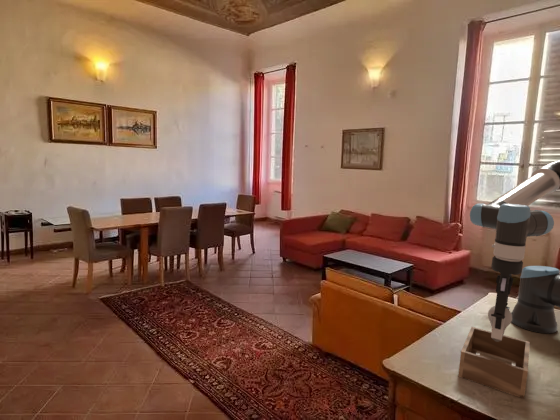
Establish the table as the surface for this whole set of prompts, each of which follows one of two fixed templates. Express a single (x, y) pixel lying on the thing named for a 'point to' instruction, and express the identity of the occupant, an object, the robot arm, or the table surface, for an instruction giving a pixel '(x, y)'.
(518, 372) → the crate
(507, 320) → the lightbulb
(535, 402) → the table surface
